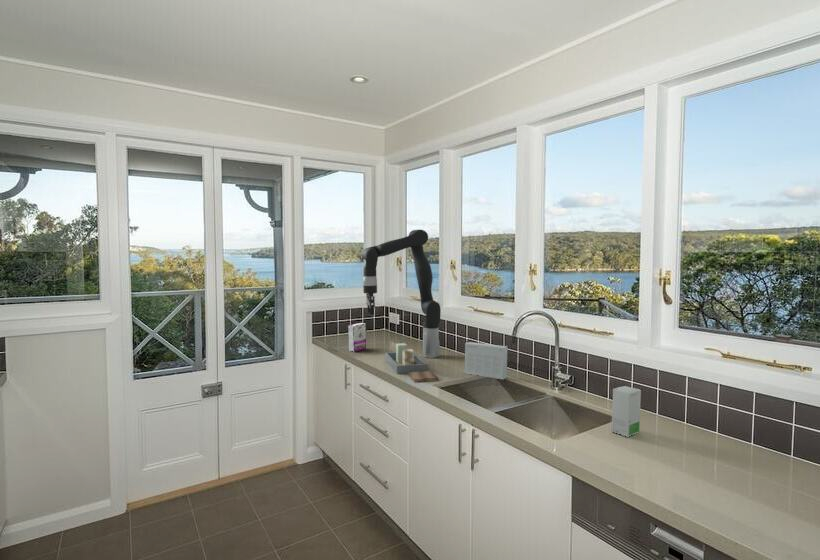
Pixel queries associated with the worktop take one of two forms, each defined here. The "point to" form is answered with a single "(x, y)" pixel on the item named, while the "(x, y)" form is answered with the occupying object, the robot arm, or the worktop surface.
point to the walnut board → (423, 376)
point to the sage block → (400, 351)
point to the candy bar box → (357, 337)
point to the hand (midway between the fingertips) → (370, 313)
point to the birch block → (407, 357)
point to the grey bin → (416, 367)
